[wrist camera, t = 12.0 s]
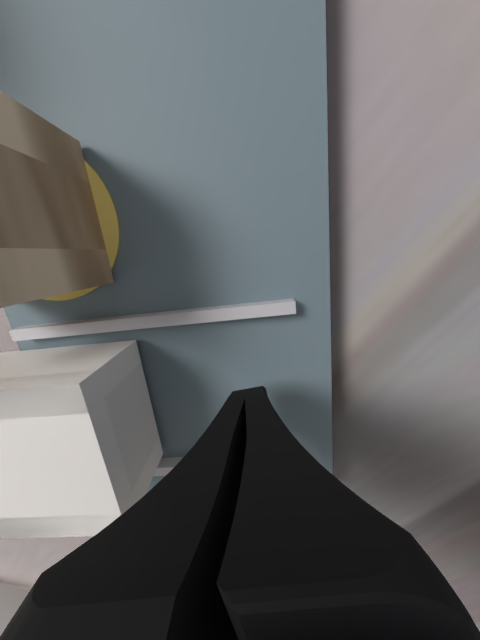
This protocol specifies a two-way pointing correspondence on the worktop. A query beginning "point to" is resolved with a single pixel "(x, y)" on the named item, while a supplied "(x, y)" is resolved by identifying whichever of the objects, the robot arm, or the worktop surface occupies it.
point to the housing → (73, 439)
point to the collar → (45, 211)
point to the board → (193, 197)
